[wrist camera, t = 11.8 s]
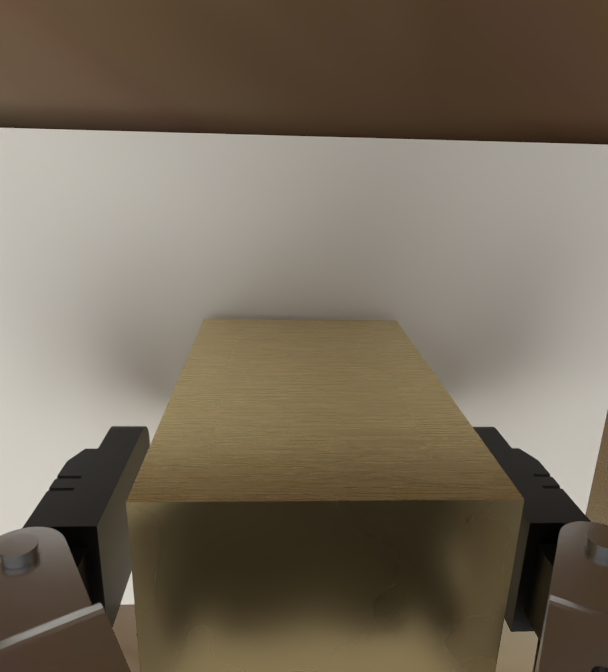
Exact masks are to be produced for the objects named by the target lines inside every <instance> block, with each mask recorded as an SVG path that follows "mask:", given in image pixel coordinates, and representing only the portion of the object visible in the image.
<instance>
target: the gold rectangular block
mask: <svg viewBox="0 0 608 672" xmlns="http://www.w3.org/2000/svg"><path fill="white" fill-rule="evenodd" d="M523 505H524V498H523V497H522V495H521V494H520V493H519V491H518V490H517V488H516V487H515V486H514V484H513V483H512V481H511V480H510V479H509V477H508V476H507V474H506V473H505V472H504V470H503V469H502V467H501V466H500V465H499V463H498V462H497V460H496V459H495V458H494V456H493V455H492V453H491V452H490V451H489V449H488V448H487V446H486V445H485V444H484V442H483V441H482V440H481V438H480V437H479V435H478V434H477V433H476V431H475V430H474V428H473V427H472V426H471V424H470V423H469V421H468V420H467V419H466V417H465V416H464V414H463V413H462V412H461V410H460V409H459V407H458V406H457V405H456V403H455V402H454V400H453V399H452V398H451V396H450V395H449V393H448V392H447V391H446V389H445V388H444V386H443V385H442V384H441V382H440V381H439V379H438V378H437V377H436V375H435V374H434V372H433V371H432V370H431V368H430V367H429V366H428V364H427V363H426V361H425V360H424V359H423V357H422V356H421V354H420V353H419V352H418V350H417V349H416V347H415V346H414V345H413V343H412V342H411V340H410V339H409V338H408V336H407V335H406V333H405V332H404V331H403V329H402V328H401V326H400V325H399V324H398V322H397V321H396V320H298V319H204V320H203V322H202V324H201V327H200V329H199V331H198V334H197V336H196V338H195V341H194V343H193V345H192V348H191V350H190V352H189V355H188V357H187V360H186V362H185V364H184V367H183V369H182V371H181V374H180V376H179V378H178V381H177V383H176V385H175V388H174V390H173V393H172V395H171V397H170V400H169V402H168V404H167V407H166V409H165V411H164V414H163V416H162V418H161V421H160V423H159V425H158V428H157V430H156V433H155V435H154V437H153V440H152V442H151V444H150V447H149V449H148V451H147V454H146V456H145V458H144V461H143V463H142V465H141V468H140V470H139V473H138V475H137V477H136V480H135V482H134V484H133V487H132V489H131V491H130V494H129V496H128V498H127V501H126V510H127V522H128V533H129V545H130V557H131V569H132V580H133V592H134V604H135V616H136V628H137V639H138V651H139V663H140V672H495V670H496V664H497V658H498V652H499V646H500V640H501V634H502V628H503V622H504V617H505V611H506V605H507V599H508V593H509V587H510V581H511V575H512V569H513V564H514V558H515V552H516V546H517V540H518V534H519V528H520V522H521V517H522V511H523Z"/></svg>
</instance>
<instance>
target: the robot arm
mask: <svg viewBox="0 0 608 672" xmlns="http://www.w3.org/2000/svg"><path fill="white" fill-rule="evenodd" d="M473 428H474V430H475V431H476V433H477V434H478V435H479V437H480V438H481V440H482V441H483V442H484V444H485V445H486V446H487V448H488V449H489V451H490V452H491V453H492V455H493V456H494V458H495V459H496V460H497V462H498V463H499V465H500V466H501V467H502V469H503V470H504V472H505V473H506V474H507V476H508V477H509V479H510V480H511V481H512V483H513V484H514V486H515V487H516V488H517V490H518V491H519V493H520V494H521V495H522V497H523V498H524V505H523V511H522V517H521V522H520V528H519V534H518V540H517V546H516V552H515V558H514V564H513V569H512V575H511V581H510V587H509V593H508V599H507V605H506V611H505V617H504V618H505V620H506V622H507V624H508V627H509V629H510V631H511V632H516V631H535V633H536V635H537V637H538V643H537V648H536V654H535V659H534V665H533V671H532V672H608V526H607V525H604V524H600V523H596V522H591V521H590V520H589V519H588V518H587V517H586V516H585V514H584V513H583V512H582V511H581V510H580V509H579V507H578V506H577V505H576V504H575V503H574V501H573V500H572V499H571V498H570V497H569V496H568V494H567V493H566V492H565V491H564V490H563V489H560V485H559V484H558V483H557V482H556V480H555V479H554V478H553V477H550V473H549V472H548V471H547V470H546V469H545V468H544V466H543V465H542V464H541V463H540V462H539V461H538V460H537V459H535V458H534V457H532V456H531V455H529V454H527V453H526V452H524V451H523V450H521V449H519V448H511V446H510V445H509V444H508V443H507V441H506V440H505V439H504V438H503V436H502V435H501V434H500V433H499V431H498V430H497V429H496V428H495V427H473ZM149 447H150V439H149V431H148V428H147V427H146V426H112V427H111V428H110V429H109V431H108V433H107V434H106V436H105V438H104V439H103V441H102V443H101V444H100V446H99V448H98V449H84V450H83V451H81V452H80V453H78V454H77V455H75V456H74V457H72V458H71V459H69V460H68V461H67V462H66V463H65V465H64V466H63V468H62V469H61V471H60V472H59V474H58V475H57V479H55V480H54V481H53V483H52V484H51V486H50V487H49V491H47V492H46V493H45V495H44V496H43V498H42V499H41V501H40V502H39V504H38V505H37V507H36V508H35V510H34V511H33V513H32V514H31V516H30V517H29V519H28V520H27V522H26V523H25V525H24V526H23V528H21V529H17V530H13V531H11V532H8V533H5V534H3V535H1V536H0V672H131V671H130V669H129V666H128V664H127V662H126V659H125V657H124V655H123V652H122V650H121V648H120V645H119V643H118V641H117V638H116V636H115V634H114V631H113V629H112V627H113V624H114V621H115V618H116V615H117V613H118V610H119V607H120V604H121V601H122V598H123V595H124V592H125V589H126V586H127V583H128V580H129V577H130V574H131V571H132V569H131V557H130V545H129V533H128V522H127V510H126V501H127V498H128V496H129V494H130V491H131V489H132V487H133V484H134V482H135V480H136V477H137V475H138V473H139V470H140V468H141V465H142V463H143V461H144V458H145V456H146V454H147V451H148V449H149Z"/></svg>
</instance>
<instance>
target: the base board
mask: <svg viewBox="0 0 608 672" xmlns="http://www.w3.org/2000/svg"><path fill="white" fill-rule="evenodd" d="M204 319H298V320H396V321H397V322H398V324H399V325H400V326H401V328H402V329H403V331H404V332H405V333H406V335H407V336H408V338H409V339H410V340H411V342H412V343H413V345H414V346H415V347H416V349H417V350H418V352H419V353H420V354H421V356H422V357H423V359H424V360H425V361H426V363H427V364H428V366H429V367H430V368H431V370H432V371H433V372H434V374H435V375H436V377H437V378H438V379H439V381H440V382H441V384H442V385H443V386H444V388H445V389H446V391H447V392H448V393H449V395H450V396H451V398H452V399H453V400H454V402H455V403H456V405H457V406H458V407H459V409H460V410H461V412H462V413H463V414H464V416H465V417H466V419H467V420H468V421H469V423H470V424H471V426H472V427H495V428H496V429H497V430H498V431H499V433H500V434H501V435H502V436H503V438H504V439H505V440H506V441H507V443H508V444H509V445H510V446H511V448H519V449H521V450H523V451H524V452H526V453H527V454H529V455H531V456H532V457H534V458H535V459H537V460H538V461H539V462H540V463H541V464H542V465H543V466H544V468H545V469H546V470H547V471H548V472H549V473H550V477H553V478H554V479H555V480H556V482H557V483H558V484H559V485H560V489H563V490H564V491H565V492H566V493H567V494H568V496H569V497H570V498H571V499H572V500H573V501H574V503H575V504H576V505H577V506H578V507H579V509H580V510H581V511H582V512H583V513H584V514H586V509H587V505H588V500H589V495H590V490H591V486H592V481H593V476H594V472H595V467H596V462H597V457H598V453H599V448H600V443H601V438H602V434H603V429H604V424H605V419H606V415H607V410H608V145H603V144H567V143H531V142H495V141H459V140H423V139H387V138H351V137H316V136H280V135H244V134H208V133H172V132H136V131H100V130H64V129H28V128H0V536H1V535H3V534H5V533H8V532H11V531H13V530H17V529H21V528H23V526H24V525H25V523H26V522H27V520H28V519H29V517H30V516H31V514H32V513H33V511H34V510H35V508H36V507H37V505H38V504H39V502H40V501H41V499H42V498H43V496H44V495H45V493H46V492H47V491H49V487H50V486H51V484H52V483H53V481H54V480H55V479H57V475H58V474H59V472H60V471H61V469H62V468H63V466H64V465H65V463H66V462H67V461H68V460H69V459H71V458H72V457H74V456H75V455H77V454H78V453H80V452H81V451H83V450H84V449H98V448H99V446H100V444H101V443H102V441H103V439H104V438H105V436H106V434H107V433H108V431H109V429H110V428H111V427H112V426H146V427H147V428H148V431H149V439H150V444H151V442H152V440H153V437H154V435H155V433H156V430H157V428H158V425H159V423H160V421H161V418H162V416H163V414H164V411H165V409H166V407H167V404H168V402H169V400H170V397H171V395H172V393H173V390H174V388H175V385H176V383H177V381H178V378H179V376H180V374H181V371H182V369H183V367H184V364H185V362H186V360H187V357H188V355H189V352H190V350H191V348H192V345H193V343H194V341H195V338H196V336H197V334H198V331H199V329H200V327H201V324H202V322H203V320H204ZM121 604H134V592H133V580H132V571H131V574H130V577H129V580H128V583H127V586H126V589H125V592H124V595H123V598H122V601H121ZM121 604H120V605H121Z"/></svg>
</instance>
